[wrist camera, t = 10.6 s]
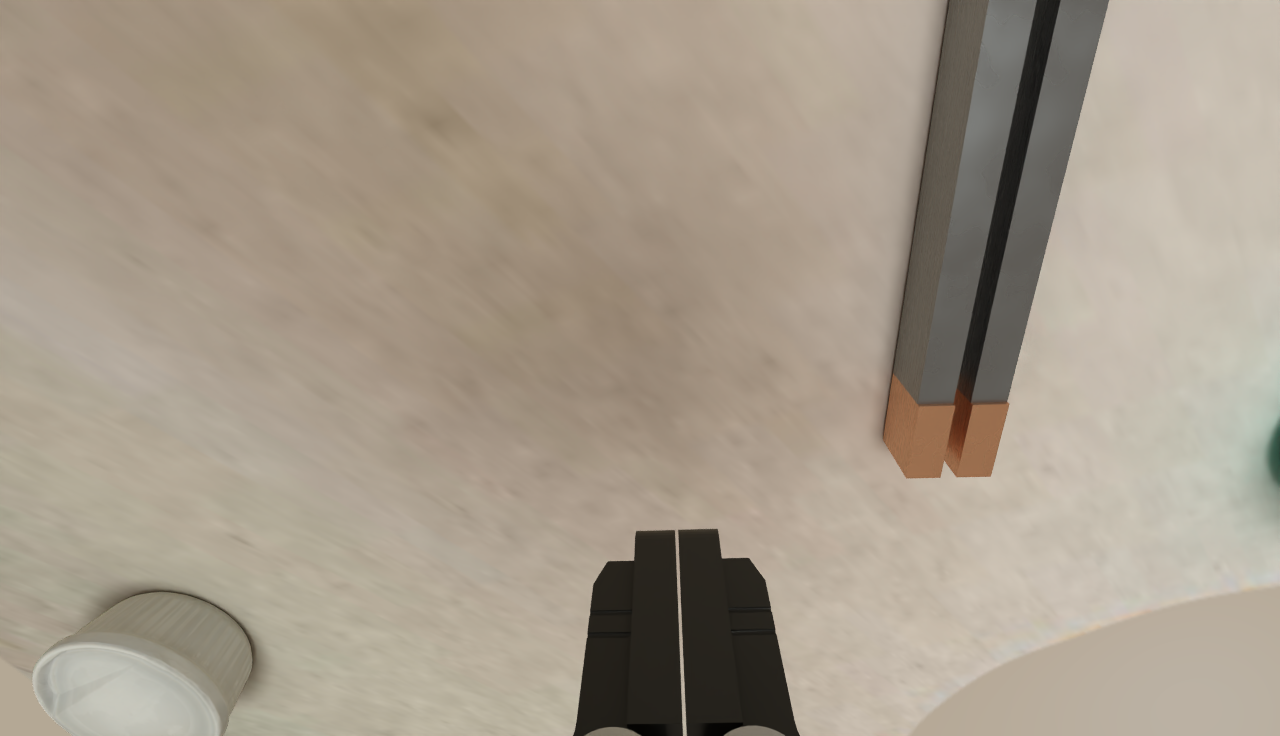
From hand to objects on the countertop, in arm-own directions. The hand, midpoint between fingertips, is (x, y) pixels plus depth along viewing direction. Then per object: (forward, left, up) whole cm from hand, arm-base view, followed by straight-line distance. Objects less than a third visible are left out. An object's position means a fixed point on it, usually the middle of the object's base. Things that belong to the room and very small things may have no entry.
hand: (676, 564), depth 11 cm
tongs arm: (-2, +12, -19) cm, 22 cm away
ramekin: (+25, -34, -20) cm, 46 cm away
